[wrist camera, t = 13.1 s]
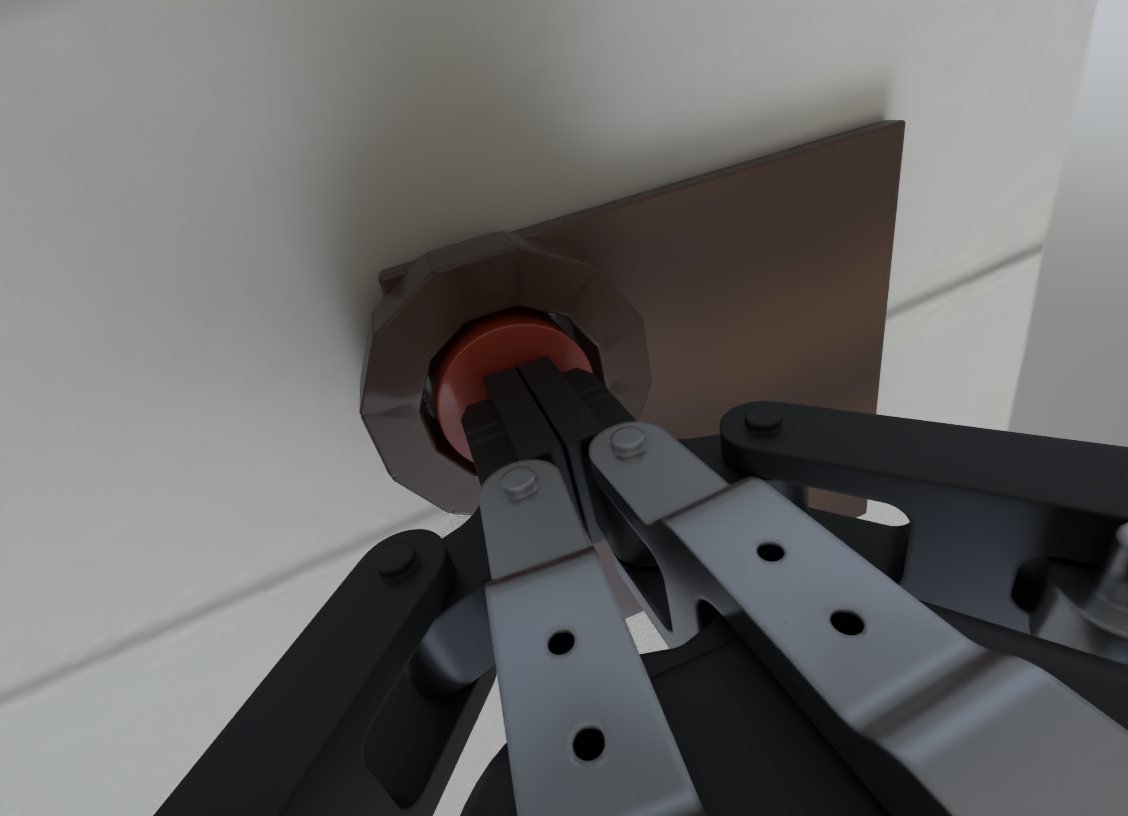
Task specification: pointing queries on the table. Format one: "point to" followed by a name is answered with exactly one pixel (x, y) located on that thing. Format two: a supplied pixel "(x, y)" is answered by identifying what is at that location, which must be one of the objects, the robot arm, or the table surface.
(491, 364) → the button
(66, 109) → the table surface
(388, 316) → the button block
